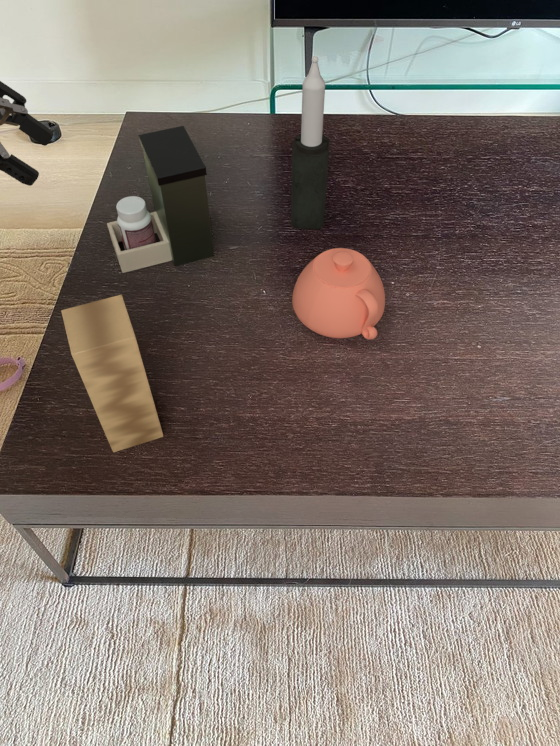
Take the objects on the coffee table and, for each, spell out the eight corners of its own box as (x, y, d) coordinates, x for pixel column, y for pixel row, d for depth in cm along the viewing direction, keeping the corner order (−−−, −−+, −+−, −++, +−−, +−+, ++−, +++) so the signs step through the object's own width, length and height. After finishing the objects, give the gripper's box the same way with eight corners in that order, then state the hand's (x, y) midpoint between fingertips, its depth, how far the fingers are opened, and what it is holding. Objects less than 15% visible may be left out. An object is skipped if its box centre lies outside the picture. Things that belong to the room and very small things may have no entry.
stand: (113, 452, 71) (71, 354, 57) (102, 412, 75) (60, 310, 60) (163, 436, 73) (135, 336, 58) (151, 397, 76) (121, 294, 62)
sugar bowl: (347, 271, 90) (354, 213, 82) (408, 333, 82) (422, 277, 74) (275, 303, 86) (274, 246, 78) (332, 371, 79) (338, 317, 70)
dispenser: (173, 267, 90) (157, 178, 78) (155, 224, 96) (138, 134, 84) (215, 256, 92) (206, 167, 79) (195, 214, 97) (183, 125, 85)
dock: (122, 273, 89) (117, 255, 87) (111, 241, 94) (106, 222, 91) (172, 260, 91) (168, 242, 88) (159, 229, 95) (155, 211, 92)
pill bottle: (164, 247, 93) (155, 201, 86) (143, 266, 90) (132, 219, 84) (139, 236, 94) (129, 189, 88) (118, 254, 92) (106, 207, 85)
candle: (293, 206, 99) (296, 45, 79) (325, 209, 98) (336, 47, 78) (290, 227, 95) (292, 65, 76) (323, 230, 95) (334, 67, 75)
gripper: (-102, 79, 63) (46, 175, 72) (-59, 15, 71) (69, 108, 80) (-128, 128, 67) (15, 212, 76) (-83, 62, 75) (40, 145, 85)
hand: (43, 159), depth 78 cm, fingers open, 8 cm apart
